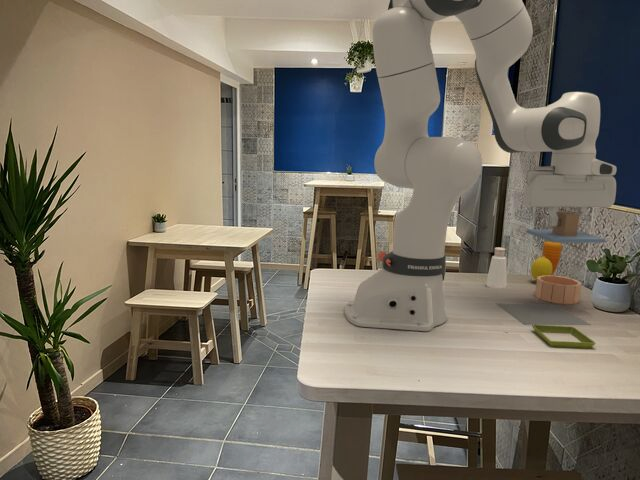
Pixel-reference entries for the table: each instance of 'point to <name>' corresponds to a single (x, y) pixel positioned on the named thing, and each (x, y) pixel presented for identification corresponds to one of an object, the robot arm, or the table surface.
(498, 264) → the salt shaker
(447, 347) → the table surface
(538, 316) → the mat
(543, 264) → the lemon
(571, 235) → the lid
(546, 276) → the bowl
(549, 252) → the carrot
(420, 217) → the robot arm
